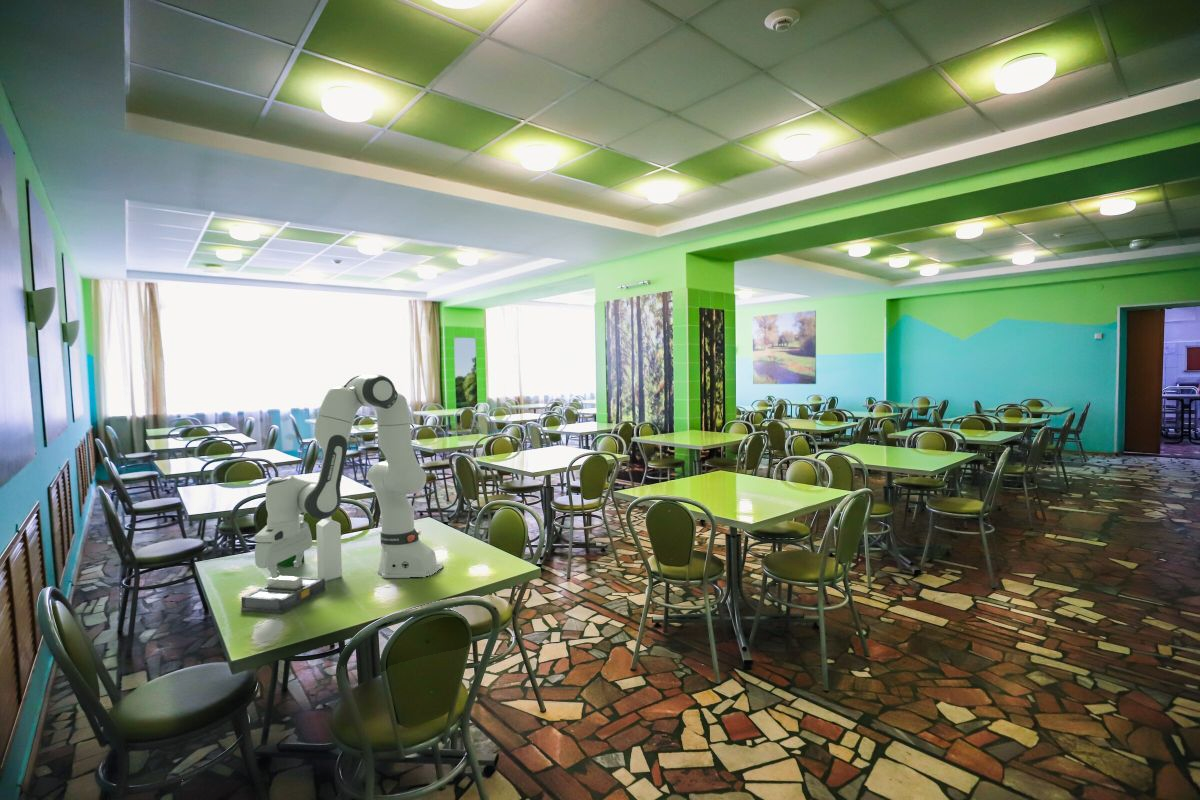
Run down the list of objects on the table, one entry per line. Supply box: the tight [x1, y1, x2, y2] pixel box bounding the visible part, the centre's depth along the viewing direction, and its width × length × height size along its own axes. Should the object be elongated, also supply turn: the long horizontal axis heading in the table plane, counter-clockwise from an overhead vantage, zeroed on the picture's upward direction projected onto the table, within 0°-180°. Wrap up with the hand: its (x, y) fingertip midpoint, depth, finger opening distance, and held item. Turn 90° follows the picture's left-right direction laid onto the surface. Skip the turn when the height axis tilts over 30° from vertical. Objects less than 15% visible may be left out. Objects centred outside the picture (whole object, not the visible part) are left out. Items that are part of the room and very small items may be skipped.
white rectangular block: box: [266, 575, 303, 591], centre depth 177 cm, size 10×3×6 cm, turn 79°
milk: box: [315, 515, 343, 582], centre depth 197 cm, size 6×6×22 cm
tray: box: [240, 575, 326, 615], centre depth 177 cm, size 15×19×4 cm
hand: (287, 571), depth 177 cm, fingers open, 8 cm apart
